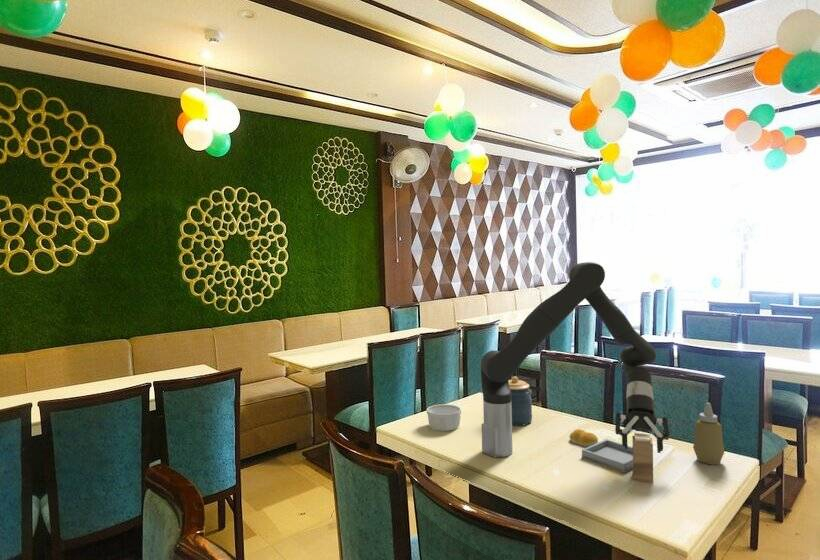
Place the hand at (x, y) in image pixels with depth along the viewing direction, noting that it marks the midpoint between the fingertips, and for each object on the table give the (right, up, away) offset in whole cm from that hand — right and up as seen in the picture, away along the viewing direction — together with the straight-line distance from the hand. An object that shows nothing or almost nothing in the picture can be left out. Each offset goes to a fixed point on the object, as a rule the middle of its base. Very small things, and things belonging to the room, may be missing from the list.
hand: (642, 449), depth 135 cm
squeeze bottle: (+25, -7, +9) cm, 27 cm away
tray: (-2, -7, +12) cm, 15 cm away
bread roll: (-7, -7, +27) cm, 29 cm away
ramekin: (-54, -8, +46) cm, 71 cm away
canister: (-25, -7, +50) cm, 57 cm away
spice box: (0, -8, -1) cm, 8 cm away
